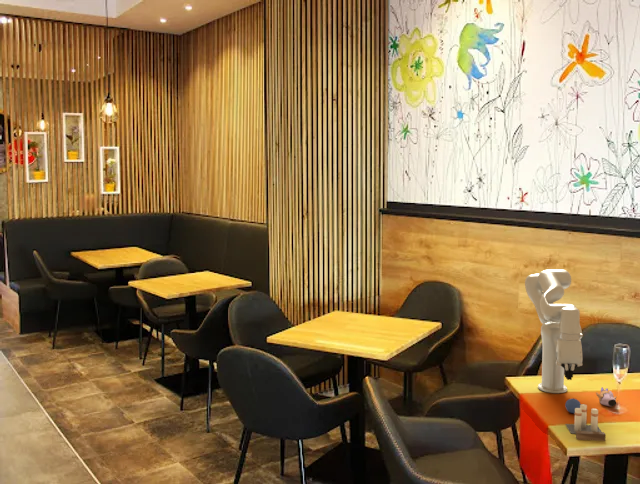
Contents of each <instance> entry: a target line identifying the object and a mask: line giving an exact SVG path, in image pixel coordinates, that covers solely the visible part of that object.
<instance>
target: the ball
mask: <svg viewBox="0 0 640 484" xmlns="http://www.w3.org/2000/svg"><path fill="white" fill-rule="evenodd" d="M580 405H581V402H580V401H579V400H578V399H576V398H569V399H567V400H566V402H565V405H564V406H565V409H566V411H567V412H569V413H570V414H575V408H580Z"/></svg>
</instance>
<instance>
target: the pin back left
mask: <svg viewBox="0 0 640 484" xmlns="http://www.w3.org/2000/svg"><path fill="white" fill-rule="evenodd" d="M590 410H591V411H590V425H591V432H597V428H598V427H599V426H598V424H599V409H597V408H591V409H590Z"/></svg>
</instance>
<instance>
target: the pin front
mask: <svg viewBox="0 0 640 484" xmlns="http://www.w3.org/2000/svg"><path fill="white" fill-rule="evenodd" d="M580 404H581V403H580ZM580 409H582V416H581V428H586V425H587V417H588V416H587V412H588V405H587V404H581V405H580Z"/></svg>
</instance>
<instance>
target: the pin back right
mask: <svg viewBox="0 0 640 484" xmlns="http://www.w3.org/2000/svg"><path fill="white" fill-rule="evenodd" d="M581 416H582V409H580V408H575V413H574V423H573V424H574V431H575V432H576V431H581Z"/></svg>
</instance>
